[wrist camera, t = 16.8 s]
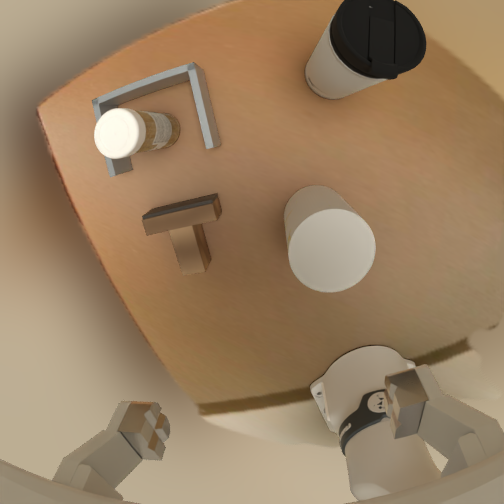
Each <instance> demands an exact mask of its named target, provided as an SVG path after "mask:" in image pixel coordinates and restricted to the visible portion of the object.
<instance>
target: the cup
mask: <svg viewBox="0 0 504 504" xmlns="http://www.w3.org/2000/svg"><path fill="white" fill-rule="evenodd" d="M284 224H285V232H286V240H287V248H288V257H289V263H290V266H291V269H292V271H293V273H294V274H295V276H296V277H297V278H298V280H299V281H300V282H302V283H303V284H304V285H306V286H307V287H309V288H311V289H313V290H316V291H320V292H338V291H342V290H345V289H348V288H350V287H352V286H354V285H355V284H357V283H358V282H359V281H360V280H361V279H362V278H363V277H364V276H365V275H366V274H367V273H368V271H369V269H370V268H371V266H372V263H373V261H374V257H375V250H376V246H375V239H374V235H373V233H372V230H371V229H370V227H369V226H368V224H367V223H366V222H365V221H364V220H363V219H362V218H361V216H360V215H359V214H358V213H357V212H356V211H355V210H354V209H353V208H352V207H351V206H350V205H349V204H348V203H347V202H346V201H345V200H344V199H343V198H342V197H341V196H340V195H339V194H338V193H337V192H336V191H334V190H333V189H331V188H329V187H326V186H322V185H311V186H307V187H304V188H302V189H300V190H298V191H297V192H296V193H295V194H293V195H292V197H291V198H290V199H289V201H288V202H287V205H286V207H285V211H284Z"/></svg>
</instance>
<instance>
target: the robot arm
mask: <svg viewBox="0 0 504 504" xmlns="http://www.w3.org/2000/svg"><path fill="white" fill-rule="evenodd" d="M310 389H311V393H312V395H313V397H314V399H315V401H316V403H317V405H318V407H319V409H320V411H321V413H322V416H323V418H324V420H325V422H326V424H327V426H328V428H329V430H330V431H331V432H336V434H337V436H338V438H339V443H340V447H341V449H342V452H343V454H344V455H345V456H346V461H347V468H348V475H349V482H350V490H351V492H352V494H353V495H354V497H355V498H356V499H357V500H359V501H357V502H352V503H346V504H504V432H503V430H502V428H501V427H500V425H499V423H498V421H497V420H496V419H494V418H492V417H490V416H488V415H486V414H484V413H482V412H480V411H478V410H476V409H474V408H473V407H470V406H469V405H467V404H465V403H463V402H461V401H459V400H457V399H455V398H453V397H452V396H450V395H448V394H447V395H443V393H442V391H441V389H440V387H439V385H438V383H437V381H436V379H435V377H434V376H433V374H432V372H431V370H430V368H429V366H428V365H426V364H424V365H421V366H418V367H416V365H415V363H414V362H413V361H410V360H407V359H404V358H402V357H401V356H400V354H399V353H398V352H396V351H395V350H393V349H391V348H388V347H384V346H367V347H363V348H359V349H356V350H353V351H351V352H349V353H347V354H345V355H343V356H342V357H340V358H339V359H338V360H336V361H335V362H334V363H333V364H332V365H331V366H330V368H329V369H328V370H327V372H326V373H325V374H324V375H323V376H322V377H321V378H319V379H318V380H316V381H315V382H313V383H312V384H311V386H310ZM160 411H161V407H160V406H159V404H158V403H156V402H137V401H121V402H120V403H119V405H118V406H117V408H116V410H115V412H114V414H113V417H112V419H111V421H110V423H109V425H108V427H107V429H106V430H103V431H101V432H100V433H98V434H97V435H95V436H94V437H93V438H91V439H90V440H89V441H87V442H86V443H84V444H83V445H82V446H80V447H79V448H77V449H76V450H74V451H73V452H72V453H70V454H69V455H67V456H66V457H64V458H63V460H62V462H61V464H60V466H59V468H58V470H57V472H56V474H55V476H54V478H53V480H49V479H46V478H43V477H41V476H38V475H36V474H33V473H31V472H28V471H26V470H24V469H21V468H19V467H16V466H14V465H12V464H10V463H8V462H6V461H4V460H1V459H0V504H139V503H133V502H128V501H123V497H122V495H121V494H119V493H118V492H117V491H116V490H115V488H116V487H117V486H118V485H119V484H120V483H121V482H122V481H123V480H124V479H125V478H126V477H127V476H128V474H130V472H132V471H133V470H134V469H135V467H137V465H138V464H139V463H140V462H141V461H142V459H146V460H147V459H148V460H162V457H163V454H164V451H165V448H166V447H165V445H164V443H163V442H165V441H166V440H167V439H168V438H169V434H170V424H169V421H168V419H167V417H166V416H165V415H164V414H162V413H160ZM424 441H426V442H427V443H428V444H429V445H431V446H432V447H433V448H435V449H436V450H437V451H438V452H440V453H441V454H442V455H443V456H445V457H446V458H447V459H449V460H448V462H447V464H446V466H445V468H444V470H443V471H442V472H441V471H440V470H439V469H438V468H437V466H436V465H435V463H434V462H433V460H432V458H431V456H430V453H429V451H428V449H427V447H426V444H425V442H424Z"/></svg>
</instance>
